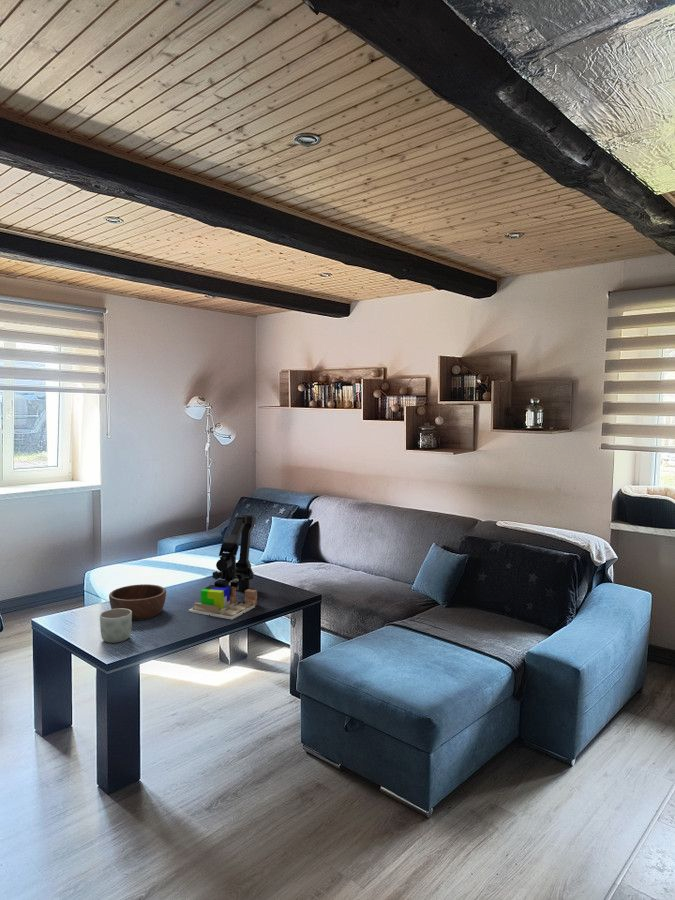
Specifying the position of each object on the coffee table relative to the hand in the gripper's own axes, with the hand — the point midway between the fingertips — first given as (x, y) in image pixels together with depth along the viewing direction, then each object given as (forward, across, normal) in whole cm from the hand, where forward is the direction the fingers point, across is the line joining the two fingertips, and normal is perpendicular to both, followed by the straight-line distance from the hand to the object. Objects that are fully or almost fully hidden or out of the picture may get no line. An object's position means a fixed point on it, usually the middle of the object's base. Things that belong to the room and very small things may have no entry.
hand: (230, 597), depth 298 cm
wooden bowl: (+2, +33, -28) cm, 43 cm away
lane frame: (+2, +12, +3) cm, 12 cm away
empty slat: (+2, +9, +12) cm, 15 cm away
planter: (+2, +61, -14) cm, 63 cm away
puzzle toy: (+2, +13, 0) cm, 13 cm away
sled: (+2, +9, 0) cm, 9 cm away
